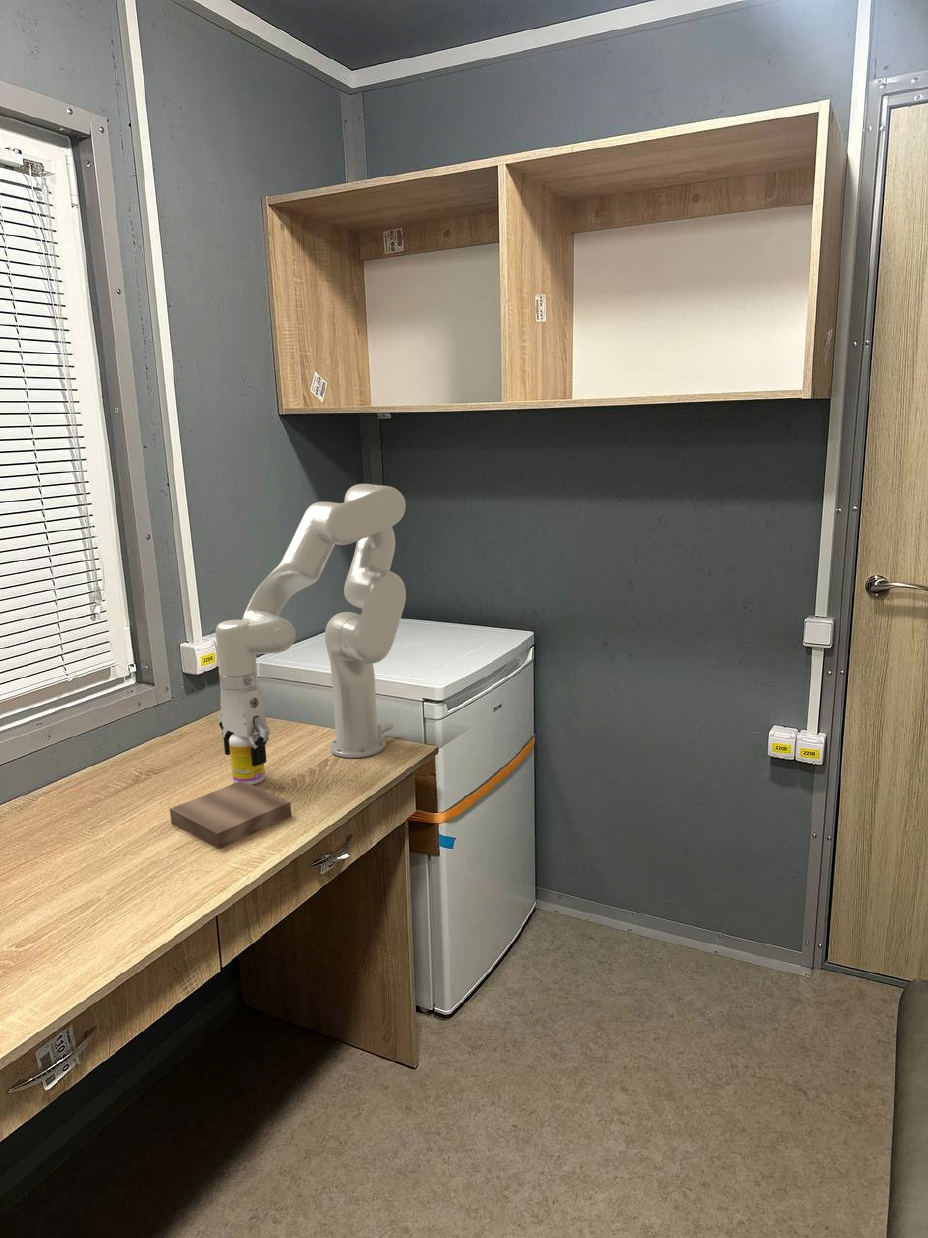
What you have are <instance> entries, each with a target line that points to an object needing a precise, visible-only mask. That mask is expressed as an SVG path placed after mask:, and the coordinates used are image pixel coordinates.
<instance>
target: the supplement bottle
mask: <svg viewBox="0 0 928 1238" xmlns="http://www.w3.org/2000/svg"><path fill="white" fill-rule="evenodd" d="M253 732H256V731H252V732H251V733H253ZM254 739H255V741H257V739H258V736H255V737H254ZM229 746H230V755H229V756H230V763H231V775H232V776H231V777H232V781H233V784H235V783H237V782H240V781H243V782H246V783H248V784H250V785H252V786H255V785H257V784H259V783H261V782H262V781H263V780H264V779H265V777H266V771H265V763H263V764H261V765H258V766H255V767H254V766H252V759H251V748H252V745H251V743H250V741H249V739H248V738H246V737H243V736H241V735H238V734H235V733H234V734H232V735H231V737H230V739H229Z"/></svg>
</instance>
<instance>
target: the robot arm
mask: <svg viewBox="0 0 928 1238" xmlns="http://www.w3.org/2000/svg"><path fill="white" fill-rule="evenodd" d="M406 505H407V503H406V499H405V497H404V496H403V493H402V492H401V491H399V490H398V489H397V488H395V487H394V486H393V487H392V486H389V485H380V484H372V483H359V484H355V485H353V486H351V487H350V488H348V489H347V491H346V493H345V496H344V502H341V503H340V502H332V501H317V502H314V503H312V504H311V505H310V506H308V508H307V509H306V510H305V512H304V514H303V516H302V518H301V520H300V521H299V524H298V526H297V528H296V530H295V533H294V534H293V537H292V539H291V540H290V543H289V544H288V548H287V549H286V551H285V553H284V555H283V556H282V559H281V561H280V563H279V564H278V565H277V566H276V567H275V568H274V569H273V570H272V571H271V572H270V573H269V574H268V575H267V576H266V578H265V579H264V580H263V581H262V582H261V583H260V584H259V585H258V587H257V588H256V590H255V592H254V593H253V595H252V597H251V598H250V599H249V602H248V604H247V607H246V608H245V611H244V614H243V615H242V617H241V618H242V619H230V620H224V621H222V622H220V623H218V624H217V625H216V627H215V642H216V651H217V652H216V653H217V663H218V674H219V685H220V686H219V687H220V710H219V712H217V713H216V716H217V721H218V722H219V723H218V726H219V727H220V729H221V736H222V737H223V746H224V755H227V756H230V746H229V739H230V737H231V735H232V734H234V733H235V734H238V735H241V736H243V737H246V738H248V739H249V741H250V743H251V745H252V748H251V759H252V766H254V767H255V766H258V765H261V764H263V763H264V764H266V763H267V752H266V751H267V750H266V745H268V743H267V742H268V741H269V736H270V732H271V730H270V727H268V726H267V719H266V711H265V706H264V704H265V703H264V699H263V696H262V691H261V689H260V687H259V679H258V677H259V676H258V666H257V655H262V654H263V655H265V654H266V655H267V654H268V655H269V654H280V653H283V652H285V651H287V650H289V649H290V648H291V647H292V646H293V644H294V642H295V640H296V636H297V635H296V630H295V628H294V626H293V625H292V623H291V622H290V621H289V620H287V619H285V618H283V617H281V616H280V614H281V612H282V609H283V608H284V607H285V605H286V603H287V602H288V601H289V600H290V598H291V597H292V596H294V595H295V594H296V593H298V592H300V591H301V590H303V589H306V588H308V587H309V586H311V585H313V584H315V583H316V582H317V581H318V580H319V579H320V577H321V574H322V572H323V570H324V569H325V566H326V564H327V562H328V560H329V557H330V555H331V554H332V551H333V550H334V547H335V545H339V546H346V545H350V544H353V543H356V545H355V550H354V554H353V558H352V561H351V563H350V566H349V570H348V574H347V575H346V576H347V577H346V580H345V583H344V590H343V595H344V598H345V599H346V601H347V602H348V603H349V604H351V606H354V607H356V608H359V609H361V610H362V611H361V613H360V614H359V613H356V612H351V611H344V612H343V611H342V612H339V613H337V614H335V615H333V617H331V618H330V620H328V622H327V624H326V626H325V632H324V641H325V646H326V650H327V653H328V659H329V663H330V671H331V673H330V674H331V682H332V683H331V685H332V698H333V712H334V725H335V739H334V740H332V741H331V742H330V744H329V750H330V752H331V753H332V754H333V755H334V756H337V757H340V758H347V759H349V758H350V759H352V758H353V759H356V758H365V757H371V756H373V755H376V754H379V753H381V752H382V751H383V750H384V749H385V747H386V740H385V738H384V737H383V735H384V734H385V733H387V732H389V731H391V730H393V729H394V724H393V723H392V722H391V721H387V722H384V723H383V724H381V722H380V721H378V713H377V712H378V711H377V697H376V696H377V695H376V694H377V693H376V677H375V675H376V674H375V668H374V664H377V663H379V662H381V661H382V660H385V658H386V657H387V656H388V654H389V652H390V651H391V649H392V647H393V644H394V642H395V639H396V636H397V631H398V629H399V626H400V621H401V619H402V617H403V613H404V612H403V611H404V608H405V605H406V600H407V592H406V591H407V590H406V586H405V583H404V581H403V580H402V578H401V577H400V576H399V574H396V573H395V572H393V571H390V570H391V568H392V563H393V560H394V559H393V558H394V556H395V555H394V554H395V548H396V536H395V532H394V529H393V527H394V526H395V525H397V523H399V522H400V521H401V520H402V518H403V517H404V515H405V512H406V508H407V507H406ZM252 731H256V732H253V733H251V732H252ZM255 736H258V739H257V741H255V739H254V737H255Z"/></svg>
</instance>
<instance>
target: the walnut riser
mask: <svg viewBox="0 0 928 1238" xmlns="http://www.w3.org/2000/svg"><path fill="white" fill-rule="evenodd" d="M291 806H292V805H291V801H289V800H286V799H284V798H281V796H278V795H275V794H273V793H270V792H268V791H266V790H263V789H262V788H259V787H257V786H255V785H250V784H248V783H246V782H243V781H240V782H237V783H232V784H230V785H228V786H224V787H222V788H219V789H217V790H214V791H211V792H210V793H207V794H204V795H202V796H199V797H197V798H194V799H192V800H189V801H186V802H184V803H181V804H179V805H175V806H173V807H171V808H169V813H170V821H171V824H172V825H174V826H176V827H178V828H179V829H182V830H183V831H185V832H187V833H188V834H190V835H192V836H194V837H196V838H197V839H200V840H201V841H204V842H205V843H208V844H209V845H211V846H213V847H214V848H217V849H218V850H220V849H222V848H224V847H226V846H228V845H231V844H233V843H235V842H238V841H240V840H243V839H245V838H247V837H248V836H249V837H250V836H251V835H253V834H255V832H256V833H258V832H260V831H262V830H264V829H263V828H265V829H267V828H268V827H267V826H269V827H271V826H273V825H276V824H278V823H280V822H282V820H283V821H285V820H287V819H289V818H291V817H292V807H291ZM284 819H285V820H284ZM275 823H276V824H275ZM266 827H267V828H266ZM261 829H262V830H261ZM259 830H260V831H259ZM257 831H258V832H257ZM244 837H245V838H244Z"/></svg>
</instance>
